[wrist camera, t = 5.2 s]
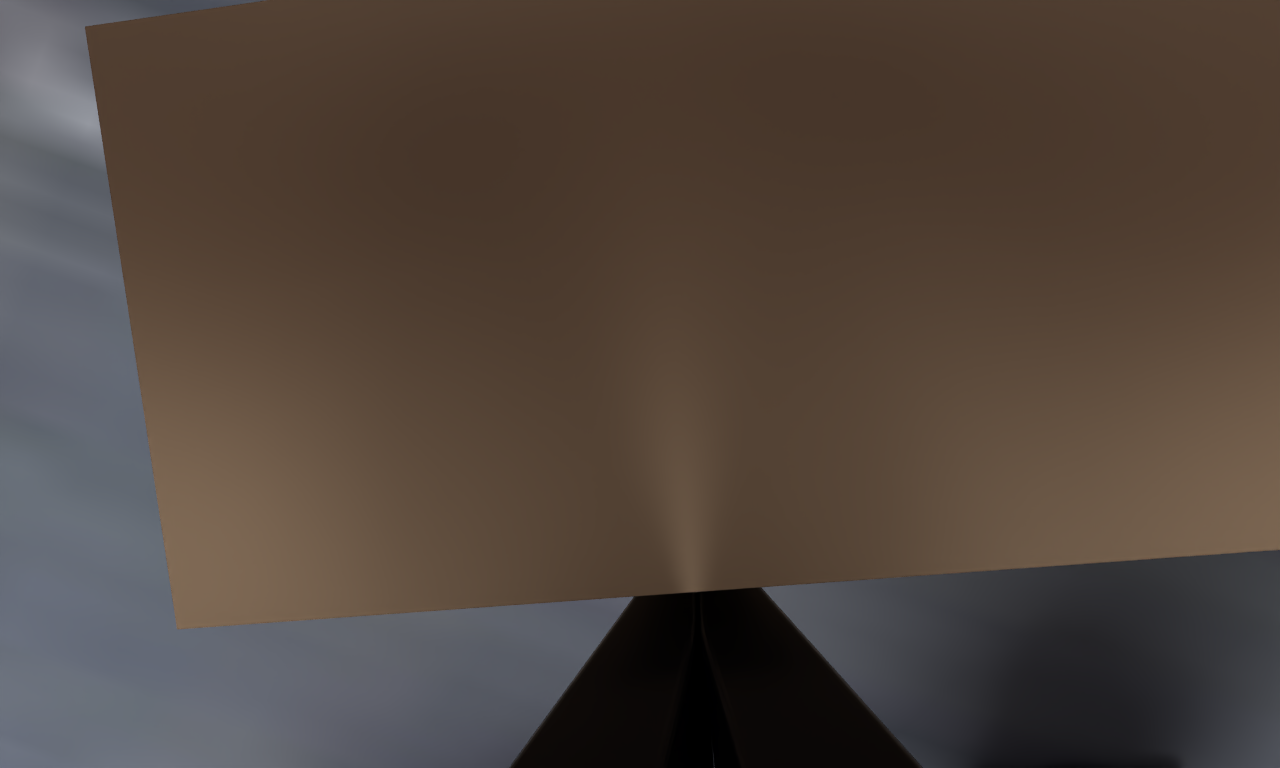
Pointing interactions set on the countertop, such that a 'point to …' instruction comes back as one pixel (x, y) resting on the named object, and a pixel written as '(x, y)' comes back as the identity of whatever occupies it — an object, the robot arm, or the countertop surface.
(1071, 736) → the countertop surface
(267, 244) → the brown rectangular block
